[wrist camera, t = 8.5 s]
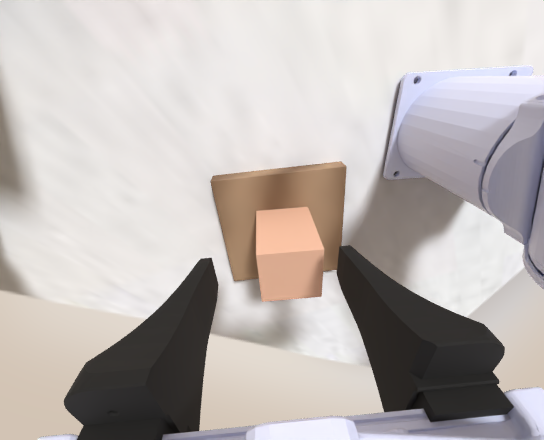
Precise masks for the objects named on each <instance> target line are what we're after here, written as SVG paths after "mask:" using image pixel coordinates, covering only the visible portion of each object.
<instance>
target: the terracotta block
mask: <svg viewBox="0 0 544 440" xmlns="http://www.w3.org/2000/svg"><path fill="white" fill-rule="evenodd" d="M256 258H257V266H258V274H259V282H260V290H261V298H262V302H264V301H276V300H287V299H299V298H310V297H321V296H322V280H323V264H324V247H323V244H322V242H321V239H320V237H319V234H318V232H317V229H316V226H315V224H314V221H313V219H312V216H311V213H310V211H309V208H308V207H298V208H285V209H273V210H261V211H256Z"/></svg>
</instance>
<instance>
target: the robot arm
mask: <svg viewBox="0 0 544 440" xmlns="http://www.w3.org/2000/svg"><path fill="white" fill-rule="evenodd" d="M511 72H512V74H511V76H509V74H510V73H511ZM532 73H533V67H532V66H530V65H527V66H510V67H494V68H477V69H461V70H444V71H428V72H411V73H407V74H405V75H404V76H403V78H402V80H401V84H400V89H399V94H398V100H397V105H396V110H395V115H394V120H393V126H392V131H391V136H390V141H389V146H388V152H387V157H386V162H385V167H384V172H383V176H384V178H386V179H387V180H393V179H407V178H421V177H426V178H428V179H430V180H432V181H433V182H435V183H437V184H438V185H440V186H442V187H444V188H445V189H447V190H449V191H450V192H452V193H454V194H455V195H457V196H459V197H461V198H462V199H464V200H466V201H467V202H469V203H471V204H473V205H474V206H476V207H478V208H479V209H481V210H483V211H485V212H486V213H488V214H490V215H492V216H493V217H495V218H496V219H498V220H499V221H501V222H502V224H503V226H504V233H506V234H507V235H509V236H511V237H512V238H514V239H516V240H517V241H519V242H520V243H522V244H524V251H523V256H522V257H523V263H524V266H525V268H526V270H527V272H528V274H529V275H530V276H531V277H532V279H533V280H534V281H535V282H536V283H537V284H538V285H539V286H540V287H542V288H543V289H544V76H532ZM416 77H418V81H417V83H416V84H414V79H415V78H416ZM396 171H397V174H396V175H393V174H394V173H395V172H396ZM337 276H338V280H339V283H340V286H341V290H342V292H343V294H344V296H345V299H346V301H347V303H348V305H349V308H350V310H351V312H352V314H353V317H354V319H355V321H356V323H357V326H358V328H359V331H360V333H361V336H362V339H363V342H364V345H365V348H366V351H367V354H368V357H369V361H370V364H371V367H372V370H373V373H374V377H375V380H376V384H377V387H378V390H379V394H380V398H381V402H382V406H383V409H384V413H374V414H364V415H354V416H344V417H343V416H326V417H316V418H306V419H296V420H287V421H276V422H268V423H264V424H259V425H255V426H245V427H235V428H225V429H216V430H205V431H199V425H200V410H201V398H202V387H203V376H204V367H205V358H206V350H207V344H208V339H209V334H210V330H211V325H212V321H213V316H214V312H215V307H216V302H217V293H218V281H217V277H216V274H215V270H214V266H213V262H212V258H204V259H200V260H199V261H198V263H197V264H196V265H195V267H194V268H193V269H192V271H191V272H190V273H189V275H188V276H187V277H186V278H185V280H184V281H183V282H182V283H181V285H180V286H179V287H178V288H177V289H176V290H175V292H174V293H173V294H172V295H171V296H170V297H169V298H168V299H167V301H166V302H165V303H164V304H163V305H162V306H161V307H160V308H159V309H158V310H156V311H155V312H154V313H153V314H152V315H151V316H150V317H149V318H148V319H146V320H145V321H144V322H143V323H142V324H141V325H140V326H138V327H137V328H136V329H134V330H133V331H132V332H131V333H129V334H128V335H127V336H125V337H124V338H123V339H121V340H120V341H118V342H117V343H116V344H114V345H113V346H111V347H110V348H108V349H107V350H105V351H104V352H102V353H101V354H99V355H97V356H96V357H95V358H93V359H91V360H90V361H88V362H87V363H86V364H85V365H84V367H83V368H82V370H81V372H80V373H79V375H78V376H77V378H76V380H75V382H74V383H73V385H72V387H71V389H70V390H69V392H68V393H67V396H66V397H65V399H64V405H65V407H66V409H67V410H68V411H69V412H70V413H71V414H72V415H73V416H74V417H75V418H76V419H77V420H78V421H80V422H81V423H82V424H83V425H84V426H83V428H82V430H81V432H80V435H79V436H77V435H74V434H63V435H53V436H45V437H44V436H43V437H40V438H38V439H37V440H544V390H543V389H542V388H540V387H532V388H522V389H513V390H509V391H506V392H504V393H503V392H502V391H501V389H500V388H499V387H498V386H497V384H499V379H498V378H497V377H496V376H495V374H494V373H493V372H492V371H493V370H494V369H495V367H496V366H497V365H498V363H499V362H500V361H501V359H502V358H503V356H504V350H505V348H504V346H503V345H502V343H501V342H500V341H499V340H498V339H497V338H496V337H495V336H494V334H493V333H492V332H491V331H490V330H489V329H488V328H487V327H486V326H485V325H484V324H482V323H479V322H477V321H474V320H471V319H469V318H466V317H464V316H461V315H459V314H456V313H454V312H452V311H449V310H447V309H445V308H443V307H440V306H438V305H436V304H434V303H432V302H430V301H428V300H426V299H424V298H423V297H421V296H419V295H417V294H415V293H413V292H412V291H410V290H408V289H407V288H405V287H403V286H402V285H400V284H399V283H397V282H396V281H394V280H393V279H391V278H390V277H388V276H387V275H386V274H384V273H383V272H382V271H380V270H379V269H378V268H376V267H375V266H374V265H373V264H371V263H370V262H369V261H368V260H366V259H365V258H364V257H363V256H362V255H361V254H359V253H358V252H357V251H356V250H355V249H354V248H353V247H351V246H350V245H349V246H339V254H338V265H337Z"/></svg>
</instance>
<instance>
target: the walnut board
mask: <svg viewBox="0 0 544 440" xmlns="http://www.w3.org/2000/svg"><path fill="white" fill-rule="evenodd" d="M345 181H346V166H345V165H344V164H343V163H342V162H333V163H324V164H315V165H306V166H297V167H288V168H279V169H270V170H261V171H252V172H243V173H234V174H225V175H216V176H213V177H212V179H211V186H212V190H213V194H214V198H215V202H216V207H217V211H218V215H219V219H220V223H221V227H222V232H223V236H224V240H225V244H226V248H227V252H228V257H229V261H230V265H231V269H232V273H233V278H234V281H239V280H248V279H257V278H259V274H258V266H257V258H256V211H261V210H273V209H285V208H298V207H308V208H309V211H310V213H311V216H312V219H313V221H314V224H315V226H316V229H317V232H318V234H319V237H320V239H321V242H322V244H323V247H324V264H323V271H329V270H337V265H338V254H339V246H341V242H342V227H343V212H344V196H345Z"/></svg>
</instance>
